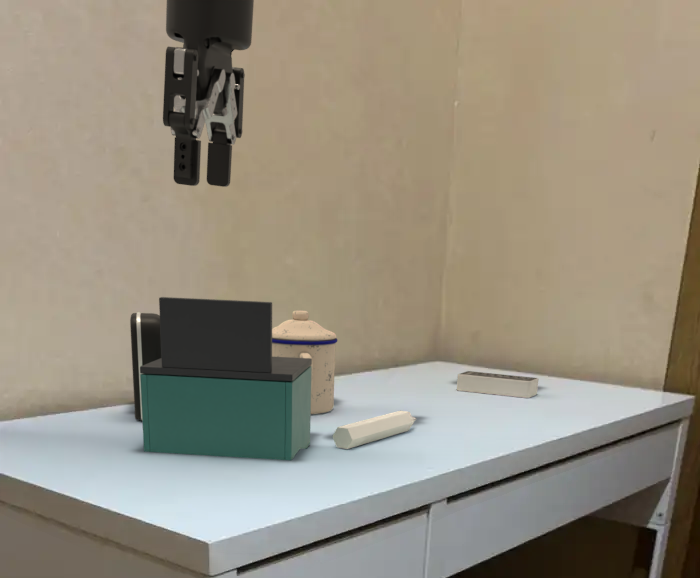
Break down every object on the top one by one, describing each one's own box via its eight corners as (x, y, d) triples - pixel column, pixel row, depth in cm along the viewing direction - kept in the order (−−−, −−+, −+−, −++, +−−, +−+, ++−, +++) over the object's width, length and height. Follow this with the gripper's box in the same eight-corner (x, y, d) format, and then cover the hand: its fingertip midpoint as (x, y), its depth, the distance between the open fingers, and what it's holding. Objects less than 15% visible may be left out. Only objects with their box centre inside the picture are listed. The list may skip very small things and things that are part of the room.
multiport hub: (528, 398, 131) (530, 381, 131) (455, 390, 136) (456, 373, 135) (537, 394, 135) (539, 377, 134) (466, 386, 140) (467, 370, 139)
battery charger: (169, 422, 106) (165, 316, 101) (135, 422, 105) (129, 315, 101) (168, 411, 112) (165, 311, 108) (136, 411, 111) (131, 310, 107)
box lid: (139, 373, 85) (136, 296, 82) (176, 357, 96) (174, 289, 93) (292, 381, 84) (293, 303, 81) (311, 364, 95) (313, 295, 92)
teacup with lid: (259, 402, 120) (259, 307, 116) (329, 402, 122) (331, 308, 117) (268, 420, 109) (268, 315, 105) (345, 420, 111) (348, 317, 106)
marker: (416, 432, 109) (344, 453, 96) (403, 421, 110) (329, 441, 97) (428, 414, 108) (355, 433, 95) (414, 403, 108) (341, 420, 95)
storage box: (144, 461, 88) (140, 374, 85) (179, 436, 99) (176, 358, 96) (291, 470, 87) (292, 382, 84) (310, 444, 98) (311, 365, 95)
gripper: (199, -7, 88) (192, 182, 95) (136, -42, 75) (134, 179, 82) (275, 0, 87) (263, 191, 94) (225, -34, 74) (214, 189, 81)
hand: (202, 185), depth 88 cm, fingers open, 8 cm apart
